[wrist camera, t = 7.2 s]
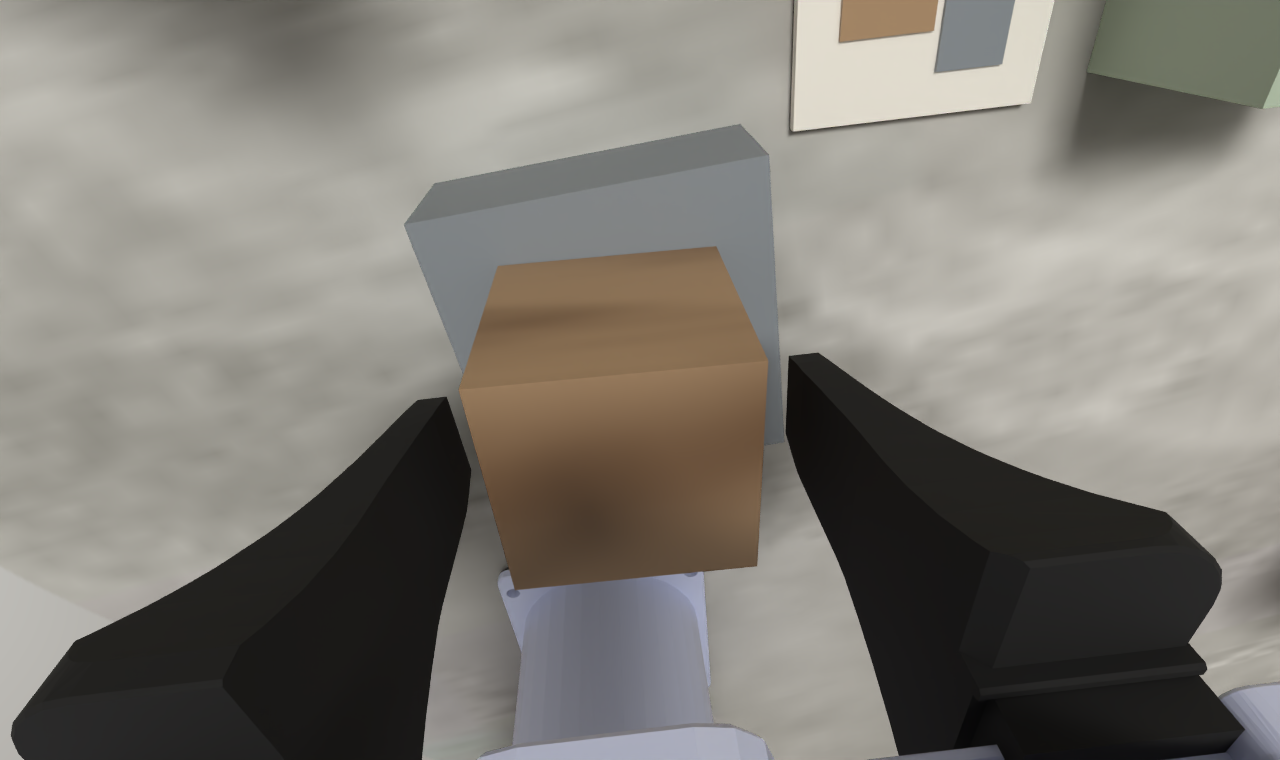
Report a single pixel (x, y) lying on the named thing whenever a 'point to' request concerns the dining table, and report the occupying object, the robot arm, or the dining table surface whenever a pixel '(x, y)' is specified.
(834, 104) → the card
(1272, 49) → the sage cube
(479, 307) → the slate block
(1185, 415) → the dining table surface
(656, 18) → the dining table surface
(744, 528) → the walnut cube
